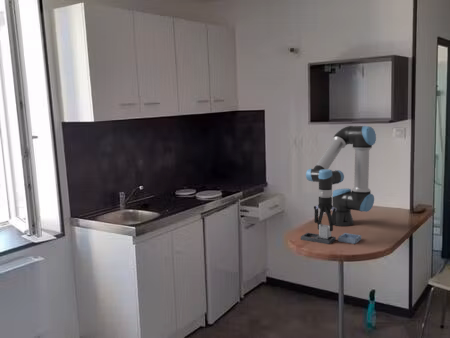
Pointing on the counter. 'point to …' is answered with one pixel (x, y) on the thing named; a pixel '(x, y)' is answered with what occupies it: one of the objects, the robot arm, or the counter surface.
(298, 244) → the counter surface
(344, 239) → the parts tray
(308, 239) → the rack frame
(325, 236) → the grey rectangular block
